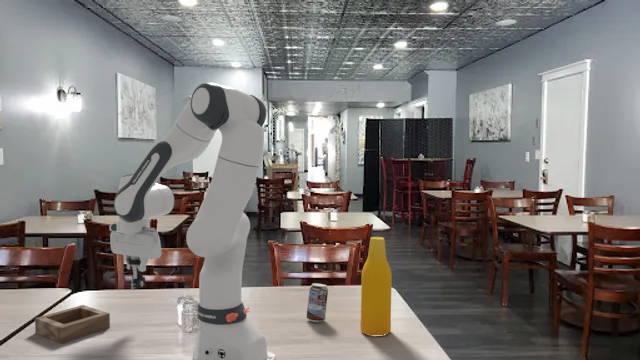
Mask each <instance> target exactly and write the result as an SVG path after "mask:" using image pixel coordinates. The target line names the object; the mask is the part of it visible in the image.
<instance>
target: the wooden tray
mask: <svg viewBox="0 0 640 360" xmlns="http://www.w3.org/2000/svg"><path fill="white" fill-rule="evenodd" d="M110 316H111V314H110V312H107V311H104V310H101V309H97V308H94V307H90V306H88V305H84V304H80V305H78V306H74V307H70V308H67V309H63V310H60V311H57V312H53V313H49V314H45V315H41V316H39V317H35V318H34V325H35V326H34V327H35V328H34V329H35V330H34V331H35V334H37V335H39V336H42V337H45V338H46V339H49V340H51V341H53V342H54V341H55V342H58V344H59V343H60V344H65V343H67V342H71V341H74V340H77V339H80V338H83V337H86V336H89V335H92V334H95V333H98V332H101V331H104V330H108V329H110V328H111V324H110V323H111V322H110V321H111V318H110Z"/></svg>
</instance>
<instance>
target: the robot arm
mask: <svg viewBox="0 0 640 360" xmlns="http://www.w3.org/2000/svg"><path fill="white" fill-rule="evenodd" d="M266 119H267V109H266V105H265V104H264V102H263V101H262V100H261V99H260V98H258V97H256V96H255V95H253V94H249V93H246V92H244V91H241V90H239V89H237V88H235V87H231V86H226V85H220V84H219V83H217V82H216V83H215V82H205V83H201V84H199V85H198V86H197V87H196V88H195V89H194V91H193V92H192V95H191V98H190V100H188V102H187V103H186V104H185V106H184V107H183V109H182V110H181V112H180V114H179V115H178V117H177V119H176V120H175V122H174V123H173V125H172V127H170V129H169V131H168V132H167V133H166V134H165V136H164V137H163V138H162V139H160V141H159V142H157V144H155V145H154V146H153V147H152V148H151V149H150V151H149V153H148V154H147V155H146V156H145V158H144V159H143V161H142V162H141V163H140V165H139V167H138V168H137V169H136V171H135V173H133V174H126V175H123V176H122V177H121V178H120V180H119V184H118V191H117V193H116V194H115V197H114V200H113V208H114V211H115V213H116V215H117V216H118V219H119V220H118V221H116V222H113V223H111V224H109V225H108V227H109V231H110V235H109V237H110V239H109V240H110V242H109V243H110V250H111V253H112V254H117V255H123V259H124V262H125V264H126V269H127V270H133V266H132V265H130V264H129V261H128V258H131V256H134V257H140V261H141V263H140V265H139V266H138V271H141V272H142V273H143V272H145V271H147V264H148V261H149V260H155V259H159V258H160V257H161V256H162V245H161V240H160V239H161V237H160V235H159V232H158V231H157V230H156V229H155V227H151V219H153V218H157V217H162V216H165V215H169V214H170V213H171V212H172V211H173V209H174V206H175V204H176V202H175V201H176V200H175V194H174V192H173V191H172V189H171V188H170V187H169V186H168V185H163V184H161V183H158V181H159V179H160V178H161V176H162V175H163V174H164V173H165V172H166V171H168V170H170V169H172V168H173V167H175V166H178V165H181V164H184V163H186V162H190V161H193V160H196V159H198V158H199V157H201V156H202V154H203V153H204V152H205V151H206V150H207V148H208V147H209V145H210V143H211V141H212V139H213V138H214V136H215V133H216V132H217V130H219V131H220V134H221V138H222V139H221V144H220V147H219V151H218V155H217V159H216V163H215V166H214V169H213V174H212V177H211V181H210V184H209V186H208V190H207V192H206V194H205V196H204V199H203V200H202V202H201V205H200V207H199V210H198V212H197V214H196V216H195V217H194V218H195V219H194V220H193V221H192V223H191V224H190V226H189V227H188V229H187V232H186V236H185V237H186V244H187V247H188V248H189V250H190V251H191V252H192V253H193V254H194V255H196V256H198V257H200V258H204V261H203V264H202V268H201V270H200V272H199V277H198V279H199V280H198V281H199V285H198V288H199V290H198V292H199V293H198V299H199V301H198V304H197V309H196V311H197V312H196V313H197V319H198V327H197V332H196V341H195V347H194V352H193V355H192V360H275V359H277V358H276V357H277V356H276V354H275V353H273V352H271V351H268V350H267V349H268V347H267V340H266V337H265V335H264V334H263V333H262V332H260V330H259V329H258V328H257V326H255V325H254V324H253V323H252V322H251V320H249V318H248V316H247V315H248V314H247V313H249V312H250V310H249V309H250V307H247V308H246V307H245V305H244V302H243V301H242V284H243V283H242V278H243V266H244V262H245V261H244V260H245V257H246V256H245V255H246V248H247V242H248V236H249V233H250V230H251V222H250V219H249V217H248V216H247V214H246V213H245V212H244V211H245V210H246V209H245V208H246V207H247V204H248V202H249V201H250V199H251V197H252V195H253V193H254V189H255V184H256V181H257V177H258V173H259V171H260V166H261V162H262V158H263V157H262V156H263V152H264V143H265V131H264V128H263V126H264V124H265V122H266Z"/></svg>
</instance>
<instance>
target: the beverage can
mask: <svg viewBox="0 0 640 360" xmlns="http://www.w3.org/2000/svg"><path fill="white" fill-rule="evenodd" d="M308 290H309V291H308V300H307V307H306V308H307V310H306V319H308V321H310V322H314V323H320V322H319V321H322V320H323V321H325V320H326V312H327V303H328V302H327V301H328V294H329V289H328V286H327V284H322V283H312V284H311V285H310V287H309V289H308ZM323 321H322V322H323Z"/></svg>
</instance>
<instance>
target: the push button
mask: <svg viewBox="0 0 640 360" xmlns="http://www.w3.org/2000/svg"><path fill="white" fill-rule="evenodd" d="M128 261H129V264H130V265H132V266H133V269H132V273H133V274H132V275H131V278H132V279H131V281H130V283H131V284H130V286H131V288H130V289H132V290H134V289H139V288H141V287H144V286H145V285H146V277H145V276H144V274H143V272H141V271H138V266H139V265H140V263H141V261H140V257H134V256H131V258H128Z"/></svg>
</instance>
